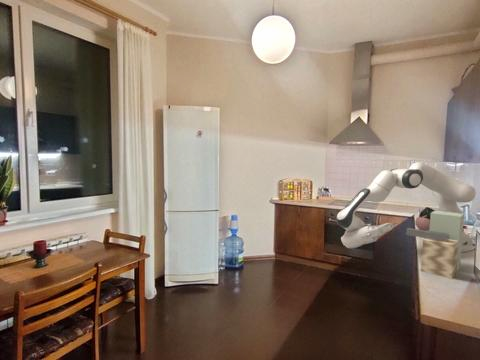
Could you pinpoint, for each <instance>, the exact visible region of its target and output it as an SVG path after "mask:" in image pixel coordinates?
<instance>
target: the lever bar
mask: <svg viewBox="0 0 480 360" xmlns="http://www.w3.org/2000/svg"><path fill="white" fill-rule="evenodd" d="M405 234H406V236H411V237H418V238H423V239H430V240H436V241H441V242H448V241H449V235H450V234H446V233H440V232H434V231H430V230H429V231H424V230H420V229H418V228H417V229H416V228H410V227H407V228H406V233H405Z"/></svg>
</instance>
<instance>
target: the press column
mask: <svg viewBox="0 0 480 360" xmlns="http://www.w3.org/2000/svg"><path fill="white" fill-rule="evenodd" d="M464 218H465V213H462V214H460V213H451V212H443V211H440V210H435V211H434V212H432V213H431V216H430V230H429V231H434V232H440V233H446V234H450V235H449V239H451V240H457V241H458V250H457V264H456V272H457V271H458V270H459V268H460V267H461V260H462V259H461V258H462V252H461V248H462V235H463V225H464Z"/></svg>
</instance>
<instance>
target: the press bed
mask: <svg viewBox="0 0 480 360" xmlns="http://www.w3.org/2000/svg"><path fill="white" fill-rule="evenodd" d="M421 249H422V250H421V265H420V267H421V268H420V272H424V273H429V274H432V275H436V276H441V277H444V278H449V279H453V277H454V276H455V275H456V273H457V271H456V264H457V250H458V241H457V240H451V239H449V241H448V242H441V241H436V240H430V239H424V238H423V239H422V248H421Z"/></svg>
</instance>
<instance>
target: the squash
mask: <svg viewBox="0 0 480 360" xmlns="http://www.w3.org/2000/svg"><path fill="white" fill-rule="evenodd" d="M434 211H436V210H435V209H433V208H432V207H429V206H428V207H425V208H424V209H422V210H421V211H420V213H419V215H418V217H423V216H426V215H427V217H425V218H427V219H429V220H430V216H431V213H432V212H434Z"/></svg>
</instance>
